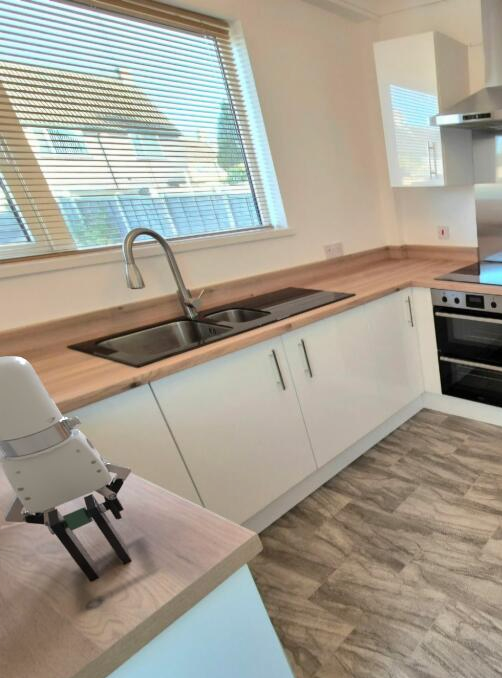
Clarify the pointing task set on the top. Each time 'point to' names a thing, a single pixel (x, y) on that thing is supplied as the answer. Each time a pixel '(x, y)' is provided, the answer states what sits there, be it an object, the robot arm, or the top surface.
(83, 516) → the lever
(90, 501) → the bracket
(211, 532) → the top surface
